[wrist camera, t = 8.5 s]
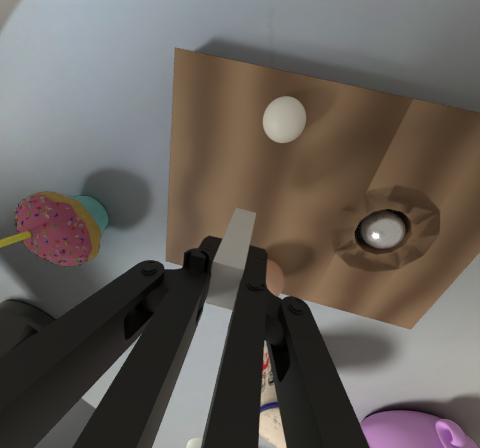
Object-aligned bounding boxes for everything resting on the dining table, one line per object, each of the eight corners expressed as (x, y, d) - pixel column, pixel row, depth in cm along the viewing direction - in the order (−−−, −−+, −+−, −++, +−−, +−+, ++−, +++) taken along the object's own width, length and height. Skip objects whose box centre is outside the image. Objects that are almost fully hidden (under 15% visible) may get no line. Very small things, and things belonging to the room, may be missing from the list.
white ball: (260, 135, 18) (256, 140, 15) (270, 93, 16) (267, 90, 14) (297, 144, 18) (299, 150, 15) (310, 102, 16) (315, 100, 14)
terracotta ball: (241, 275, 25) (233, 304, 21) (249, 245, 23) (242, 271, 19) (278, 286, 24) (277, 317, 21) (289, 256, 22) (290, 284, 19)
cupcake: (52, 212, 29) (-82, 271, 18) (72, 164, 25) (-82, 203, 14) (108, 253, 30) (15, 329, 20) (135, 213, 27) (38, 281, 16)
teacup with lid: (273, 326, 31) (268, 431, 21) (335, 348, 31) (360, 466, 21) (247, 370, 37) (233, 469, 27) (299, 389, 37) (305, 496, 27)
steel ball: (398, 259, 19) (396, 248, 21) (414, 219, 18) (409, 213, 20) (353, 245, 20) (356, 237, 23) (365, 208, 19) (367, 204, 22)
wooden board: (174, 249, 28) (165, 261, 26) (188, 55, 18) (175, 47, 16) (400, 311, 26) (410, 329, 24) (544, 131, 17) (583, 135, 14)
